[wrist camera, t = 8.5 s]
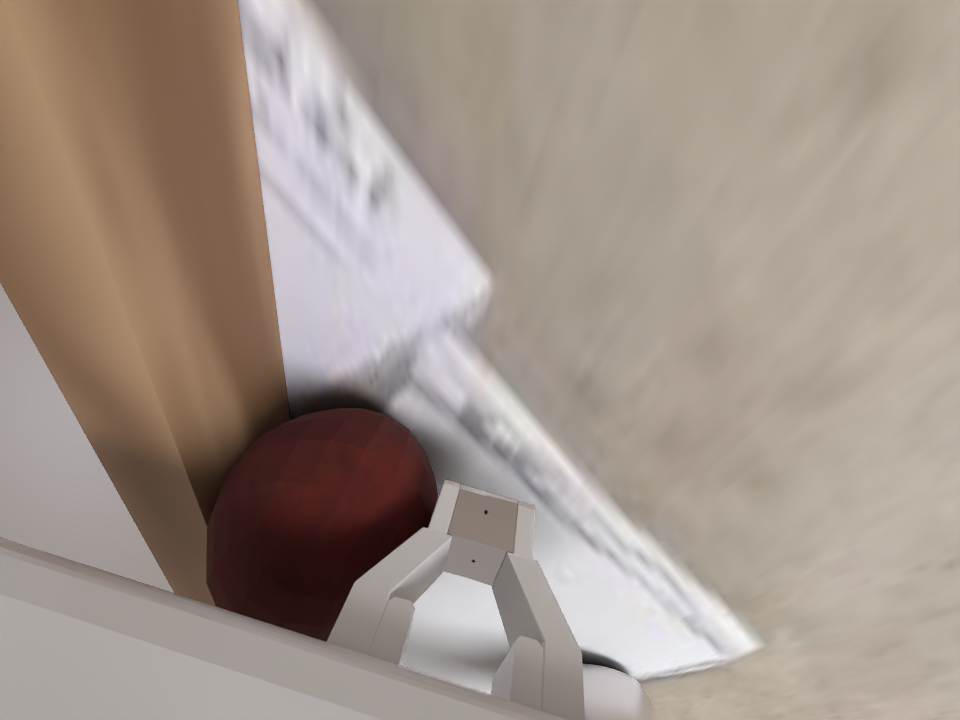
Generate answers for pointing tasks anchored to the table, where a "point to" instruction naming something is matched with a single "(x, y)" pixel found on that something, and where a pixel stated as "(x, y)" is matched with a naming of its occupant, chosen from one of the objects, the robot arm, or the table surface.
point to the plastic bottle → (614, 696)
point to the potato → (315, 516)
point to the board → (142, 247)
